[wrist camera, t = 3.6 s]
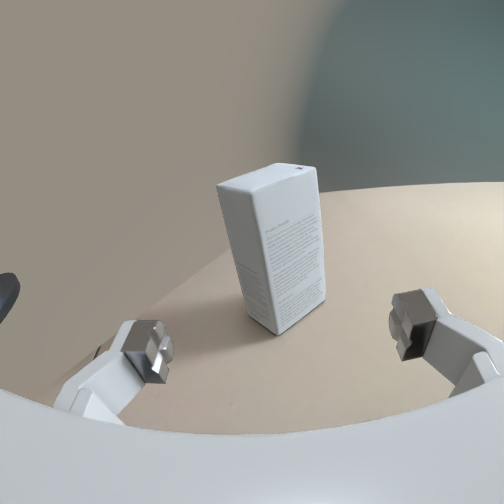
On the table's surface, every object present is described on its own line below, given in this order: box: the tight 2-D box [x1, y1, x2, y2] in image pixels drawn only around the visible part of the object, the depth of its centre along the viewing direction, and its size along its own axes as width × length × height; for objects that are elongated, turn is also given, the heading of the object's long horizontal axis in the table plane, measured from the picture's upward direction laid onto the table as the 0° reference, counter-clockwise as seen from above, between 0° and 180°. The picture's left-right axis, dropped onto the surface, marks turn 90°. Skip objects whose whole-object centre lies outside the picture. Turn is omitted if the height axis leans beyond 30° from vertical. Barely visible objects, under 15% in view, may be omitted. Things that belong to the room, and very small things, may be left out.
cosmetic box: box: [216, 163, 326, 336], centre depth 22 cm, size 6×4×12 cm
